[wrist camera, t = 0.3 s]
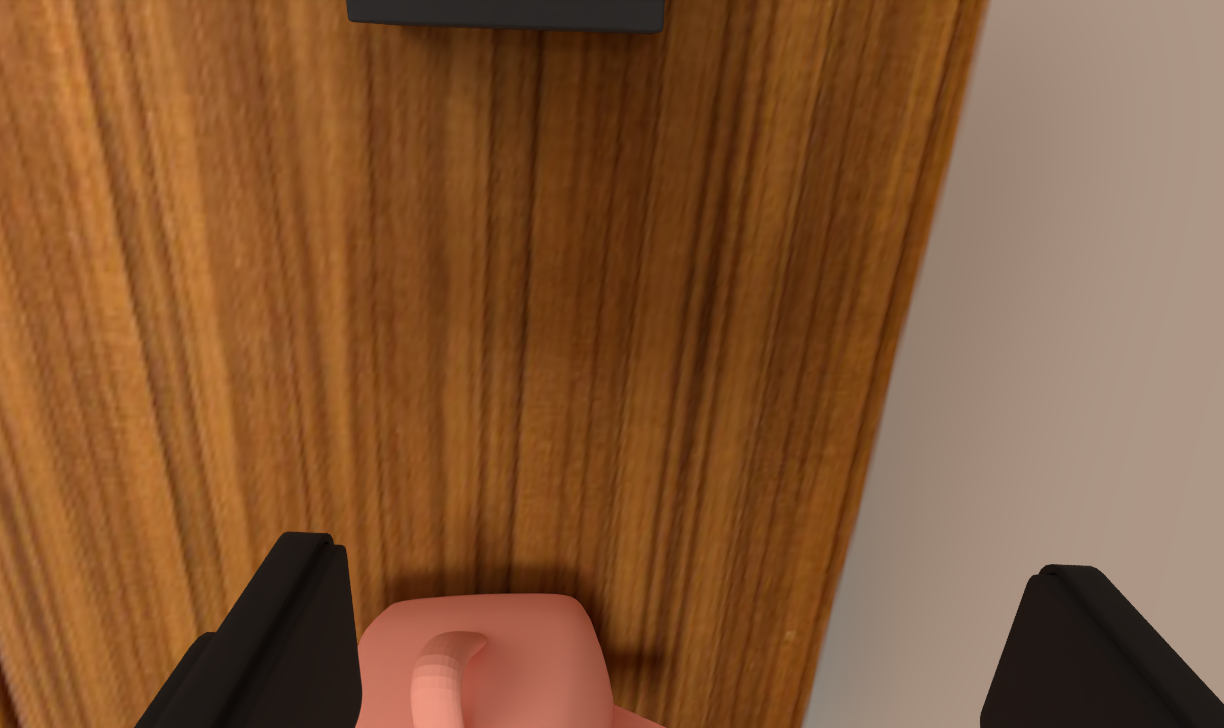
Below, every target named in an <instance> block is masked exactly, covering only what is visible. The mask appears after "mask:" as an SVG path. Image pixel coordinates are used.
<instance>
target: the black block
mask: <svg viewBox="0 0 1224 728" xmlns="http://www.w3.org/2000/svg"><path fill="white" fill-rule="evenodd" d="M346 2H347V12H348V19H349V21H351V22H361V23H374V24H386V25H400V26H429V27H457V28H486V29H514V30H543V31H571V32H600V33H629V34H655V33H660V32H662V30H663V23H664V4H665V0H346Z"/></svg>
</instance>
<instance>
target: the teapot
mask: <svg viewBox="0 0 1224 728" xmlns="http://www.w3.org/2000/svg"><path fill="white" fill-rule="evenodd" d="M358 656H359V665H360V673H361V682H362V704H361V710H360V714H359V718H358V721H357V724H356V726H355V728H666V727H664V726H661V725H659V724H657V723H655V722H652V721H650V720H648V719H646V718H643V717H641V716H639V715H637V714H634V713H632V712H630V711H628V710H625V709H623V708H621V707H618V706H616V705H614V701H613V696H612V690H611V685H610V680H609V676H608V672H607V668H606V664H605V660H604V657H603V653H602V650H601V647H600V644H599V642H598V639H597V636H596V633H595V631H594V628H593V625H592V622H591V620H590V618H589V616H588V615H587V613H586V611H585V610H584V608H583V607H582V605H581V604H580V603H579V602H578V601H577V600H576V599H574V598H573V597H571V596H566V595H560V594H540V593H523V594H477V595H460V596H446V597H433V598H422V599H414V600H406V601H401V602H398V603H394V604H392V605H391V606H390V607H388V608H387V609H386V610H384V611H383V612H382V613H381V614H380V615H379V616H378V617H377V618H376V619H375V620H374V621H373V622H372V623H371V624H370V625H369V627H368V628H367V629H366V631H365V632H364V634H363V635H362V637H361V639H360V642H359V644H358Z"/></svg>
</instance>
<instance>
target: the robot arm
mask: <svg viewBox="0 0 1224 728" xmlns="http://www.w3.org/2000/svg"><path fill="white" fill-rule="evenodd" d="M361 704H362V682H361V673H360V665H359V656H358V647H357V639H356V630H355V621H354V612H353V604H352V595H351V586H350V578H349V569H348V560H347V553H346V549H345V547H344V546H343V545H334V542H333V538H332V537H331V535H330V534H328V533H307V532H285V533H283V534H282V535H281V536H280V538H279V539H278V540H277V542H276V543H275V545H274V546H273V548H272V549H271V551H270V552H269V554H268V555H267V557H266V558H265V560H264V561H263V563H262V564H261V566H260V567H259V569H258V570H257V572H256V573H255V575H254V576H253V578H252V579H251V581H250V582H249V584H248V585H247V587H246V588H245V590H244V591H243V593H242V594H241V596H240V597H239V599H238V600H237V602H236V603H235V605H234V606H233V608H232V609H231V611H230V612H229V614H228V615H227V617H226V618H225V620H224V621H223V623H222V624H221V626H220V627H219V629H218V630H217V632H206V633H205V634H203V635H201V636H200V637H198V638H197V640H196V641H195V642H194V643H193V644H192V645H191V647H190V648H189V649H188V651H187V652H186V654H185V655H184V656H183V658H182V659H181V661H180V662H179V664H178V665H177V667H176V668H175V669H174V671H173V672H172V674H171V675H170V677H169V678H168V680H167V681H166V682H165V684H164V685H163V687H162V688H161V690H160V691H159V692H158V694H157V695H156V697H155V698H154V700H153V701H152V703H151V704H150V705H149V707H148V708H147V710H146V711H145V713H144V714H143V716H142V717H141V718H140V720H139V721H138V723H137V724H136V726H135V727H134V728H355V726H356V724H357V721H358V718H359V714H360V710H361ZM980 728H1224V704H1223V703H1222V702H1221V701H1220V700H1219V698H1218V697H1217V696H1216V695H1215V694H1214V693H1213V692H1212V691H1211V690H1210V689H1209V688H1208V687H1207V685H1206V684H1205V683H1204V682H1203V681H1202V680H1201V679H1200V678H1199V677H1198V676H1197V675H1196V674H1195V673H1194V671H1193V670H1192V669H1191V668H1190V667H1189V666H1188V665H1187V664H1186V663H1185V662H1184V661H1183V659H1182V658H1181V657H1180V656H1179V655H1178V654H1177V653H1176V652H1175V651H1174V650H1173V649H1172V648H1171V646H1169V644H1168V643H1167V642H1166V641H1165V640H1164V639H1163V638H1162V637H1161V636H1160V635H1159V634H1158V632H1157V631H1156V630H1155V629H1154V628H1153V627H1152V626H1151V625H1150V624H1149V623H1148V622H1147V620H1146V619H1144V617H1143V616H1142V615H1141V614H1140V613H1139V612H1138V611H1137V610H1136V609H1135V607H1134V606H1133V605H1132V604H1131V603H1130V602H1129V601H1128V600H1127V599H1126V598H1125V597H1124V596H1123V595H1122V594H1121V592H1120V591H1119V590H1118V589H1117V588H1116V587H1115V586H1114V585H1113V584H1112V583H1111V582H1110V580H1109V579H1108V578H1107V577H1106V576H1105V575H1104V574H1103V573H1102V572H1101V571H1099V570H1098V569H1097V568H1094V567H1092V566H1080V565H1057V564H1051V565H1046V566H1045V567H1043V568H1042V569H1041V571H1040V572H1039V574H1038V575H1033V576H1032V577H1031V578H1030V579H1029V581H1028V583H1027V585H1026V588H1025V591H1024V594H1023V597H1022V599H1021V602H1020V605H1019V608H1018V610H1017V613H1016V616H1015V619H1014V622H1013V624H1012V627H1011V630H1010V633H1009V636H1008V638H1007V641H1006V644H1005V647H1004V650H1003V652H1002V655H1001V658H1000V661H999V664H998V666H997V669H996V672H995V675H994V678H993V681H992V683H991V686H990V689H989V692H988V695H987V697H986V700H985V703H984V706H983V708H982V712H981V716H980Z"/></svg>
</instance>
